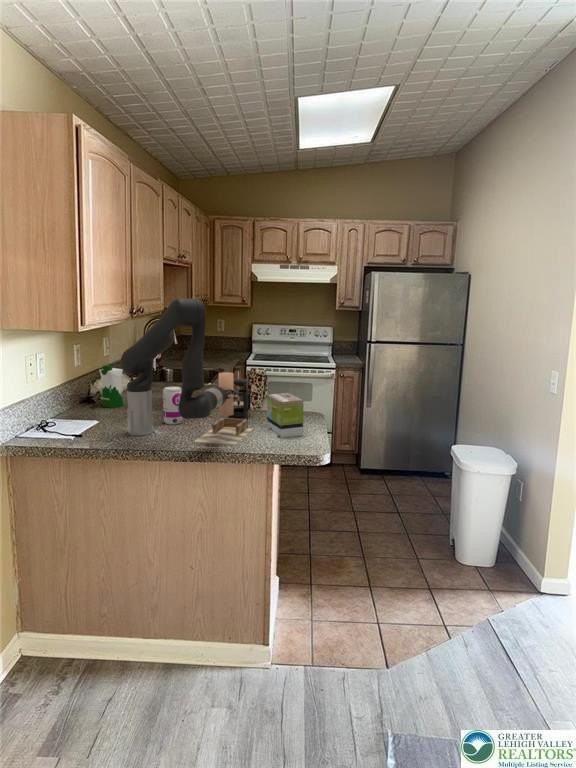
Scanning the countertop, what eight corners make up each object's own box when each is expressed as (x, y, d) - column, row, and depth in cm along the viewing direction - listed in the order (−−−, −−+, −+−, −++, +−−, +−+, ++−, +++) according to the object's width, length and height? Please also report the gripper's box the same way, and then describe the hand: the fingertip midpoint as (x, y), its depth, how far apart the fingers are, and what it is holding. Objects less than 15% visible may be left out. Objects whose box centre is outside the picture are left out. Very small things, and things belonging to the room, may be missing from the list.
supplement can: (187, 422, 229) (186, 388, 227) (171, 425, 223) (170, 390, 221) (176, 419, 235) (175, 385, 232) (159, 422, 229) (158, 388, 226)
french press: (236, 421, 232) (236, 368, 228) (222, 417, 239) (221, 366, 234) (256, 416, 241) (256, 366, 236) (242, 413, 247) (242, 363, 243)
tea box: (266, 429, 220) (266, 393, 218) (288, 426, 224) (288, 392, 222) (280, 438, 207) (280, 401, 204) (303, 435, 211) (304, 399, 208)
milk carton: (99, 406, 257) (97, 365, 254) (114, 403, 265) (112, 363, 261) (111, 409, 253) (109, 367, 249) (126, 405, 260) (124, 364, 257)
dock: (234, 447, 194) (234, 435, 193) (193, 444, 198) (193, 432, 197) (254, 430, 218) (254, 419, 217) (217, 427, 222) (217, 416, 221)
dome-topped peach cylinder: (230, 416, 204) (230, 374, 202) (216, 415, 206) (216, 374, 203) (237, 411, 212) (237, 371, 210) (224, 410, 213) (223, 371, 211)
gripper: (231, 389, 190) (245, 381, 206) (193, 387, 193) (210, 379, 209) (231, 409, 191) (245, 400, 208) (194, 407, 194) (210, 398, 211)
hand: (228, 390), depth 208 cm, fingers closed on dome-topped peach cylinder, 5 cm apart
